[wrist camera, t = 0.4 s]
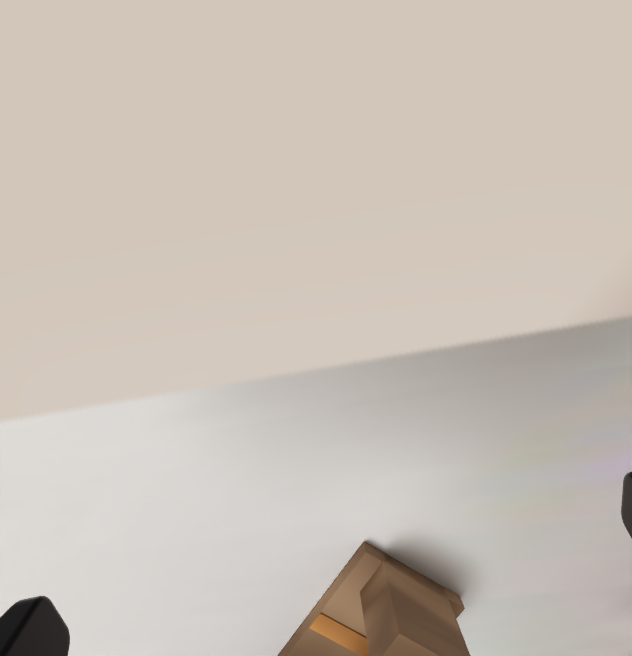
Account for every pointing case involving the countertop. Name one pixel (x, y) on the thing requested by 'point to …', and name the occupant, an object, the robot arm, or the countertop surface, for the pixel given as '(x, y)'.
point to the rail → (381, 613)
